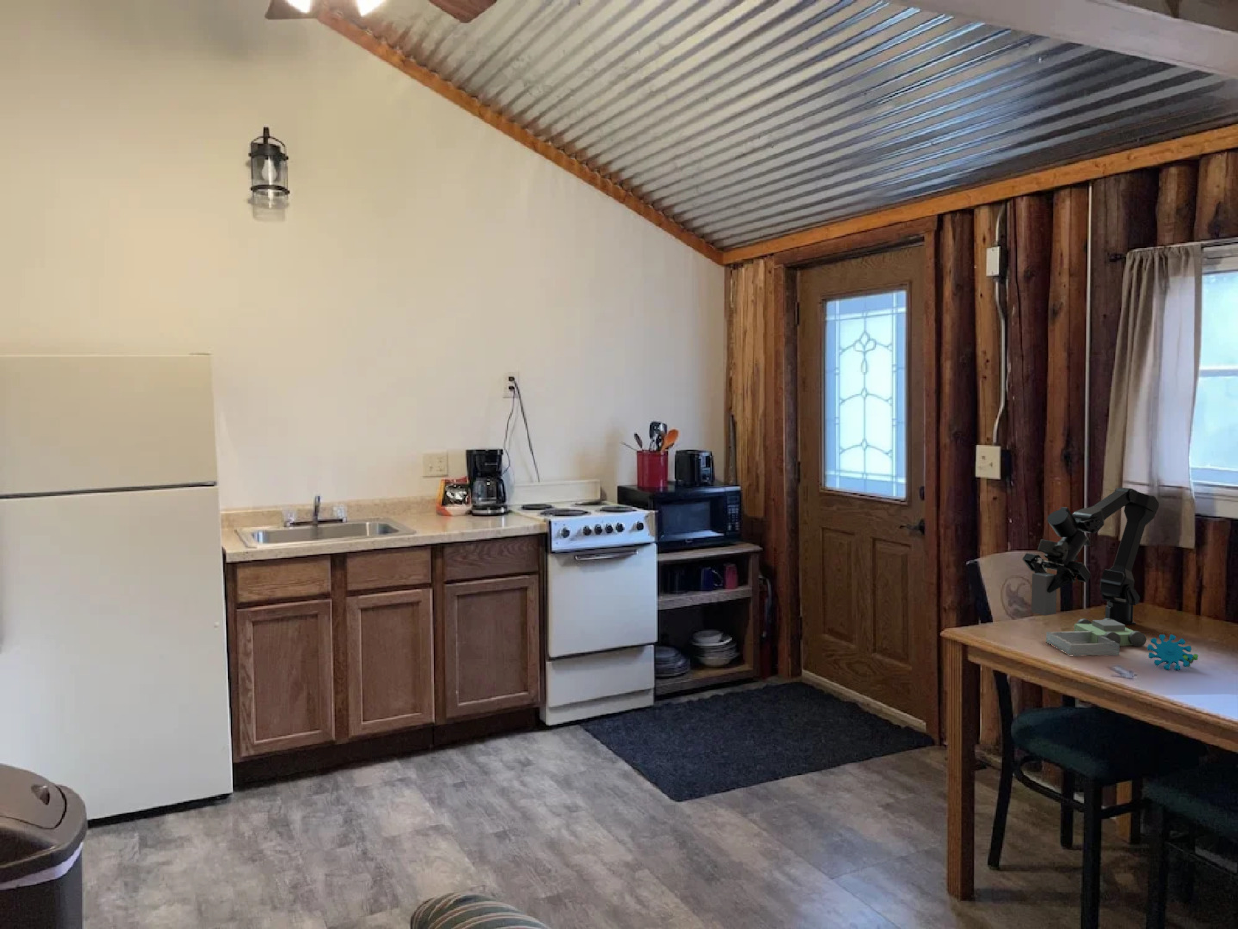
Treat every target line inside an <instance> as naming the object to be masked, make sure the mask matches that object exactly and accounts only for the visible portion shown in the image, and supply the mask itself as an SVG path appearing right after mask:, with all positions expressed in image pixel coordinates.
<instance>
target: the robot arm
mask: <svg viewBox="0 0 1238 929" xmlns="http://www.w3.org/2000/svg"><path fill="white" fill-rule="evenodd" d="M1159 507H1160V503H1159V500H1158V499H1157V497H1156V496H1155V495H1150V494H1149V495H1148V494H1146V493H1143V492H1140V491H1138V490H1136V489H1134V488H1131V487H1117V488H1115V489H1114V491H1113V492H1111V493H1110V494H1108V495H1107V496H1106V497H1104V498H1103V499H1101V500H1100V501H1098V502H1097V503H1096V504H1094V505H1092V506H1090V507H1083V508H1081V509H1078V510H1076V511H1074V512H1073V513H1071V511H1070V509H1069V507H1066V506H1065V507H1064V506H1061V507H1060V508H1059V509H1058V510H1055V511H1053V512H1052V513H1049V515H1048V516H1047V518H1046V520H1047V523H1048V524H1049V526H1050V527H1051V528H1052V530H1053V531H1054V533H1055V534H1056V535H1057V536H1058V537H1059V538H1061V539H1060V540H1058V541H1056V542H1055V541H1052V540H1047V539H1040V542H1039V544H1038V547H1037V551H1039V552H1041V553H1043V554H1044V555H1043V556H1044V557H1045V559H1047V560H1045V559H1043V558H1042V557H1041V555H1040V554H1038V553H1033V552H1026V553H1025V554H1024V556H1023V558H1022V561H1023V562H1024V563H1025V565H1026V567H1028V569H1029V570H1030V571H1031V572H1033V573H1040V572H1045V573H1048V572H1047V570H1048V569H1049V570H1052V571H1056V574H1055V575H1056V576H1055V577H1054V579H1053V580H1052V582H1051V584H1050V585H1049V587H1048V589H1047V591H1048V593H1051V592H1053V591H1055V590H1056V589H1057V590H1058V589H1060V588H1062V587H1065V586H1066V585H1068V584H1071V583H1076V582H1077V581H1078V582H1083V583H1086V584H1087V583H1089V580H1090V579H1091V575H1092V574H1091V572H1090V570H1089V569H1088V567H1087V566H1086V565H1085V563H1084V562H1080V561H1078V560H1079V559H1080V558H1079V556H1078V554H1079V553H1080V551H1081V550H1082V549H1083V547H1084V546H1087V547H1090V546H1091V541H1090V538H1089V537H1090V536H1089V535H1088V536H1087V535H1086V534H1085V533H1088V534H1096V533H1098V531H1100V530H1101V529H1102V528H1103V527H1104V525H1105V521H1106V519H1108V518H1109V517H1110V516H1112V515H1114V514H1115V513H1117V512H1118V511H1119V510H1120V509H1123V513H1124V516H1125V518H1126V523H1125V526H1124V529H1123V533H1122V536H1121V540H1120V543H1119V546H1118V549H1117V553H1116V556H1115V559H1114V562H1113V564H1112V565H1113V566H1111V567H1110V568H1109V569H1107V568H1106V569H1104V570H1103V571H1102V577H1101V579H1100V581H1099V583H1100V584H1099V589H1100V594H1101V598H1102V600H1103V601H1106V604H1107V605H1105V611H1104V612H1105V613H1104V617H1103V619H1105V618H1110V619H1112V620H1115V621H1117V622H1119V623H1122V624H1124V625H1136V624H1137V622H1135V621H1134V606H1137V604H1139V602H1140V598H1141V596H1140V595H1139V593H1138V592H1137V590H1136V589H1135V588H1134V587H1135V582H1136V581H1135V579H1134V575H1133V573H1132V571H1133V568H1134V564H1135V562H1136V558H1137V554H1138V551H1139V547H1140V545H1141V542H1142V541H1141V540H1142V538H1143V535H1144V531H1145V528H1146V526H1147V525H1148V524H1149V523H1150V522H1151V521H1153V520H1154V518H1155V516H1156V514H1157V512H1158V510H1159ZM1076 579H1077V581H1076Z"/></svg>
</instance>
